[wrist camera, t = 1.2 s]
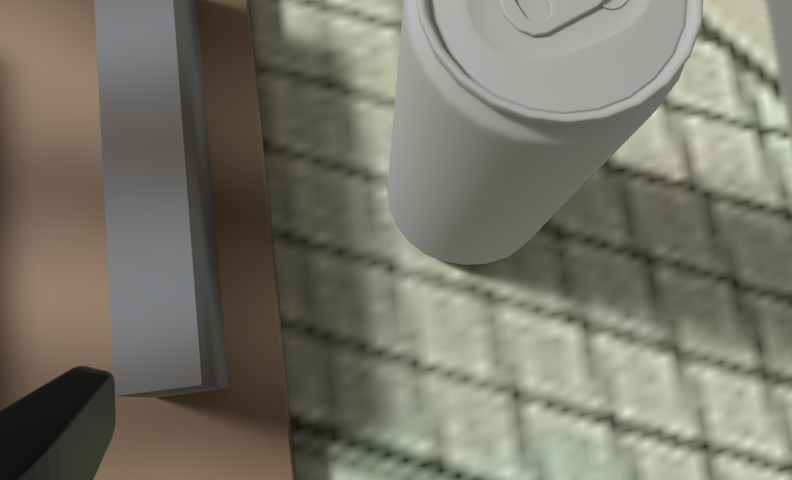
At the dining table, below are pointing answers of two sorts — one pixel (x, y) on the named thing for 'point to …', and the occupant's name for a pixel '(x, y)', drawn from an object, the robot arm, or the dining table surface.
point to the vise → (143, 230)
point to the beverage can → (519, 110)
